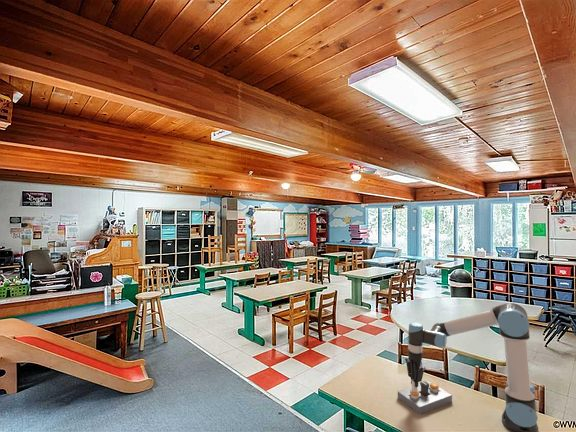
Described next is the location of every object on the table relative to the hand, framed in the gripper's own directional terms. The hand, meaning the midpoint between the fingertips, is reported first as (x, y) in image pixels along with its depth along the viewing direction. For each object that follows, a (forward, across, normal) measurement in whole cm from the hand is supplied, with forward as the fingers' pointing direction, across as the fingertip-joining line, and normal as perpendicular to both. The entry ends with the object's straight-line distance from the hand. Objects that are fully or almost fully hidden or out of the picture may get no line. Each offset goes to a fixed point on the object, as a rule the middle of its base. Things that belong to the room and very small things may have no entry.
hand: (414, 391), depth 175 cm
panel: (+7, 0, -8) cm, 11 cm away
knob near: (+7, 0, 0) cm, 7 cm away
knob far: (+7, 0, -16) cm, 17 cm away
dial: (+4, 0, -8) cm, 9 cm away
